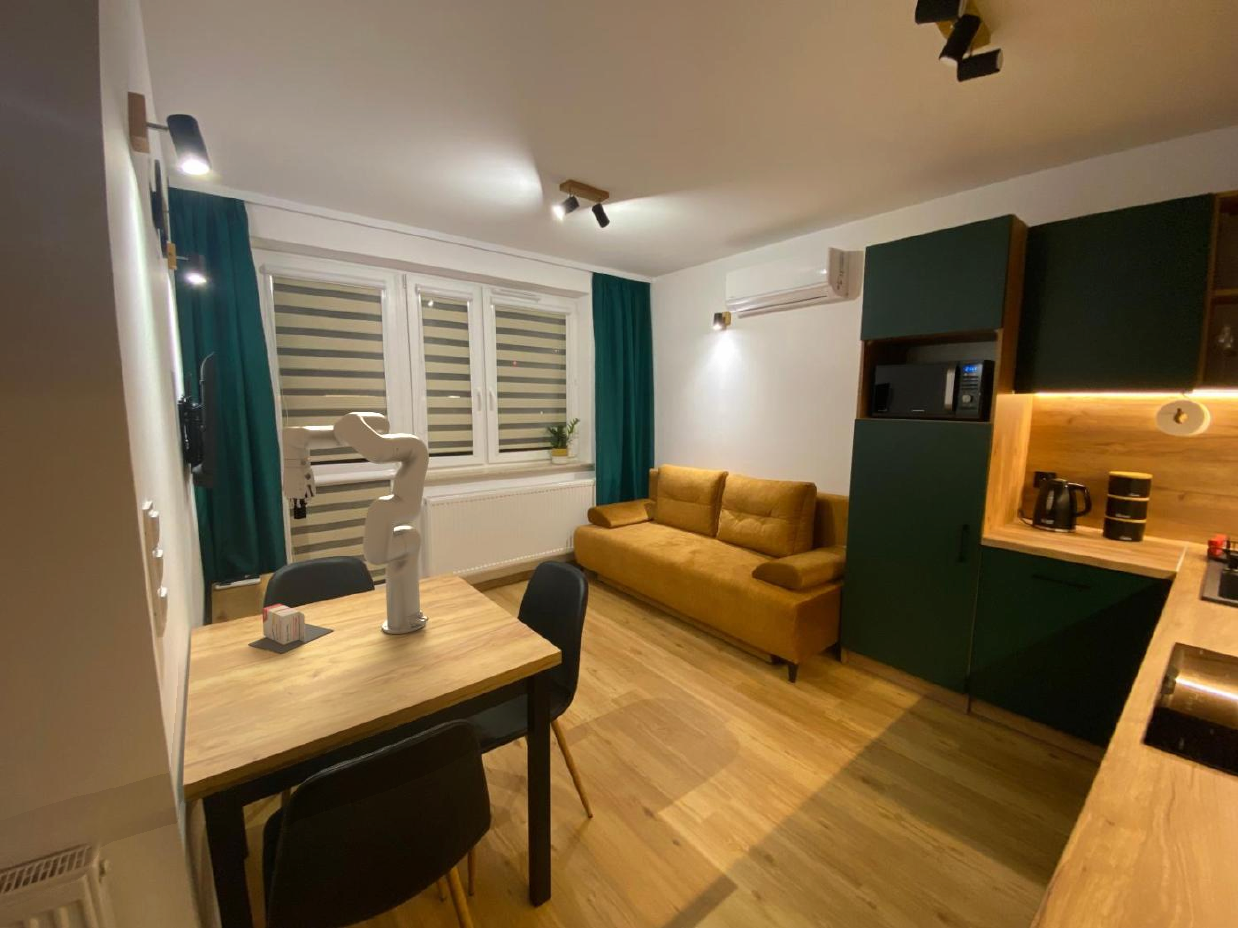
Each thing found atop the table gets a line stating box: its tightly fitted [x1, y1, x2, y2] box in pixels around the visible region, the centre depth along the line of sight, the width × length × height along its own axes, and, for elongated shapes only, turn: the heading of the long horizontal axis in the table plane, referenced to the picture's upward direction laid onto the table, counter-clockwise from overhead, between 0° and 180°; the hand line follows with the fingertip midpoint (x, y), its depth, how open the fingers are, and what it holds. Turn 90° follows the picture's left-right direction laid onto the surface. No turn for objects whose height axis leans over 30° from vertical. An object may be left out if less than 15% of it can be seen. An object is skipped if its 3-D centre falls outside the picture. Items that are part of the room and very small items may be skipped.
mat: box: [247, 622, 335, 655], centre depth 147 cm, size 14×16×1 cm
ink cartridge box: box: [261, 603, 306, 645], centre depth 145 cm, size 9×5×15 cm
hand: (300, 518), depth 166 cm, fingers closed
